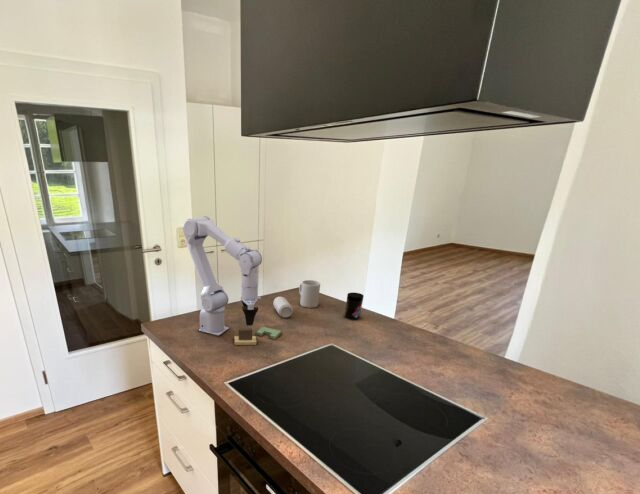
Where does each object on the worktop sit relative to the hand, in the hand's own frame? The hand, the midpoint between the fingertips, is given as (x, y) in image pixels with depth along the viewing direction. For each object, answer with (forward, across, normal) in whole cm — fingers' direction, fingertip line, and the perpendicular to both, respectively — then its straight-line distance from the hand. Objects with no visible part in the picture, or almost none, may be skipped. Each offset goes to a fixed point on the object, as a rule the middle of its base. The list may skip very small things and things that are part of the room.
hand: (248, 320), depth 131 cm
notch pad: (+9, +6, -8) cm, 14 cm away
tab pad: (+9, +1, +1) cm, 9 cm away
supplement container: (+9, +23, -48) cm, 54 cm away
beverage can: (+5, +22, -18) cm, 29 cm away
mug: (+9, +40, -31) cm, 51 cm away
